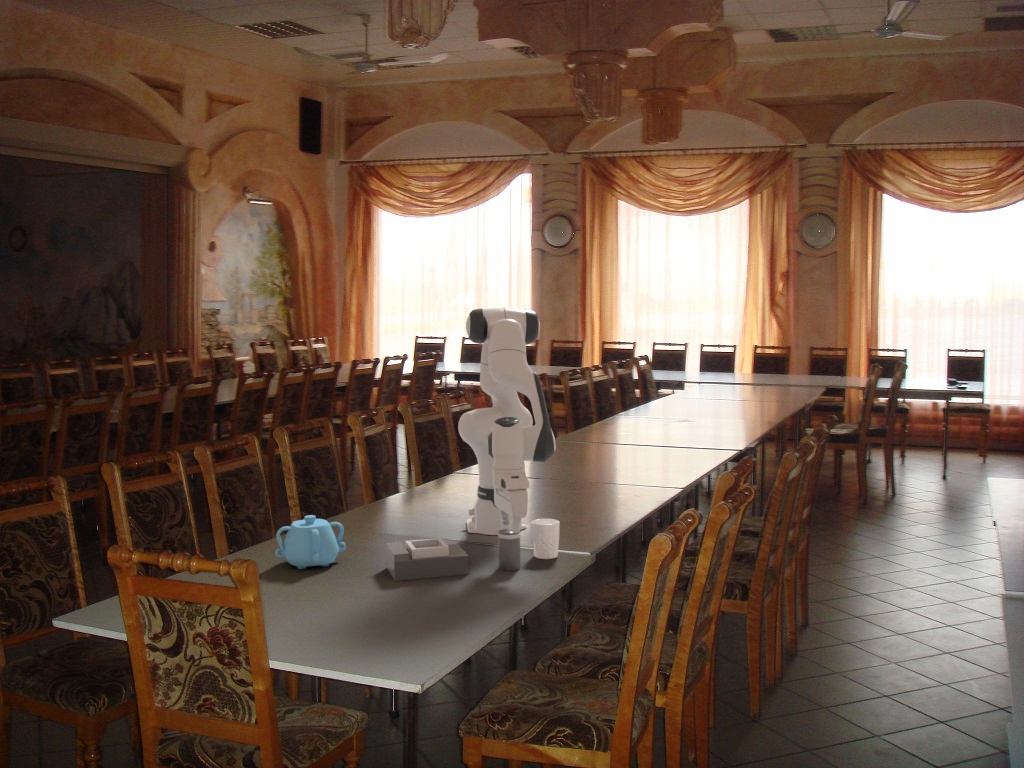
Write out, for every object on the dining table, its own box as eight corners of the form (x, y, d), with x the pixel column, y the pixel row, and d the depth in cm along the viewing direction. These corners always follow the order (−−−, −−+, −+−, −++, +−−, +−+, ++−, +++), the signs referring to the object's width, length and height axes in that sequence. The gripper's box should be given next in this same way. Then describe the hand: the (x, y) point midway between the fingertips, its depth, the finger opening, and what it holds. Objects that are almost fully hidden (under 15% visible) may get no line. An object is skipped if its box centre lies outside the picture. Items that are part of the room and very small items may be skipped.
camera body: (386, 567, 278) (386, 541, 278) (458, 561, 284) (457, 535, 283) (394, 580, 266) (394, 552, 265) (469, 574, 271) (468, 546, 271)
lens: (495, 565, 279) (495, 530, 278) (517, 563, 281) (516, 528, 280) (501, 571, 273) (501, 535, 272) (523, 569, 275) (523, 533, 274)
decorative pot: (269, 567, 281) (267, 518, 280) (309, 553, 295) (307, 507, 294) (313, 575, 273) (311, 525, 272) (352, 560, 287) (351, 513, 285)
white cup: (558, 552, 292) (558, 518, 291) (561, 559, 285) (560, 524, 284) (531, 552, 292) (530, 518, 291) (532, 560, 284) (532, 525, 283)
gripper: (487, 473, 284) (489, 522, 285) (508, 484, 264) (509, 537, 265) (509, 471, 285) (510, 520, 286) (531, 483, 266) (532, 535, 267)
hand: (510, 528), depth 276 cm, fingers open, 8 cm apart
